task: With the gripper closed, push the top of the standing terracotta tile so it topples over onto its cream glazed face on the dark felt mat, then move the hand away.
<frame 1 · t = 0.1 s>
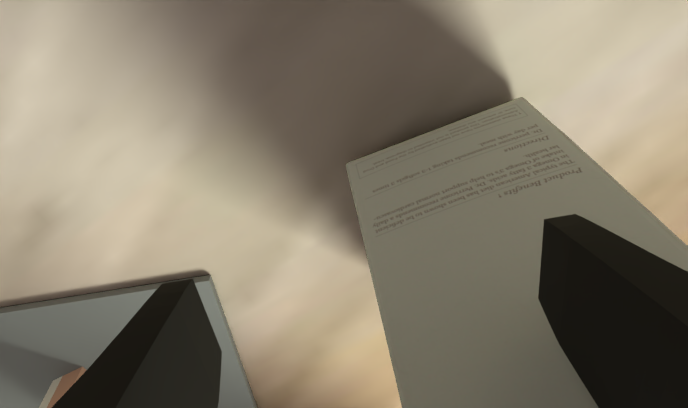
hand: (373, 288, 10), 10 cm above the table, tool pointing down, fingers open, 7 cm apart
felt mat: (103, 402, 25), on the table
terracotta tile: (110, 407, 25), resting on felt mat
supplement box: (452, 197, 21), on the table, touching gripper
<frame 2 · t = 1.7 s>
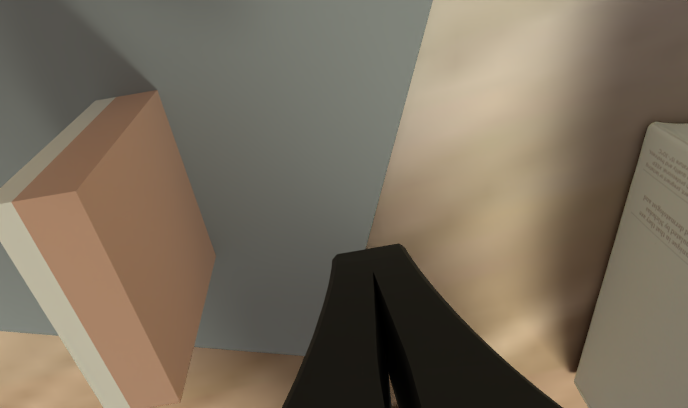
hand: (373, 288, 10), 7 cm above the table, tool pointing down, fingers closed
felt mat: (148, 177, 16), on the table
terracotta tile: (161, 185, 16), resting on felt mat
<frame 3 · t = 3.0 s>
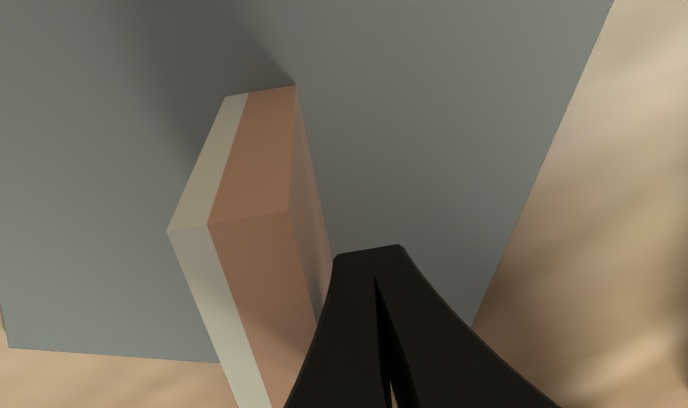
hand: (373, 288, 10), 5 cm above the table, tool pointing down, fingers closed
felt mat: (269, 184, 14), on the table
terracotta tile: (286, 193, 14), resting on felt mat, touching gripper
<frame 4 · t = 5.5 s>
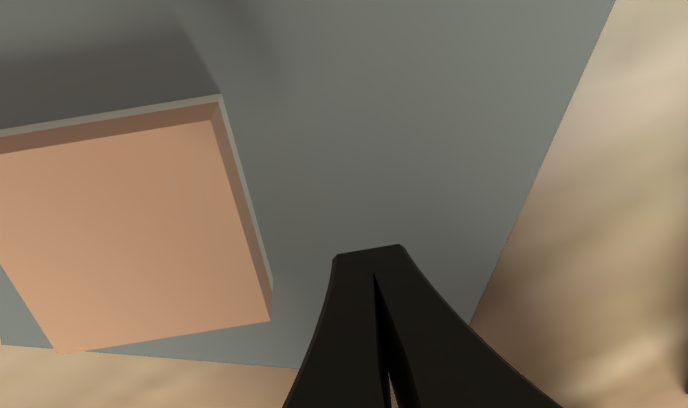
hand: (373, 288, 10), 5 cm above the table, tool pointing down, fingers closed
felt mat: (266, 182, 14), on the table
terracotta tile: (247, 213, 13), point 1 cm above the table, tilted 90°, touching felt mat
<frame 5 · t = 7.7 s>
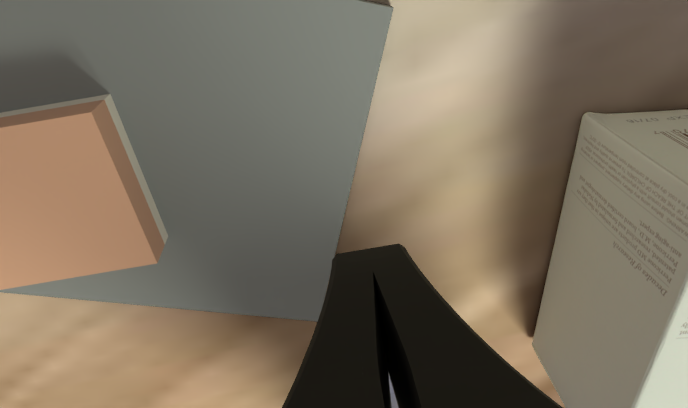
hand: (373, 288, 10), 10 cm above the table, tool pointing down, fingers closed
felt mat: (155, 160, 19), on the table
terracotta tile: (134, 182, 18), point 1 cm above the table, tilted 90°, touching felt mat
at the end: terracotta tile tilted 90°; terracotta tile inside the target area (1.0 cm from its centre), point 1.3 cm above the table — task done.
